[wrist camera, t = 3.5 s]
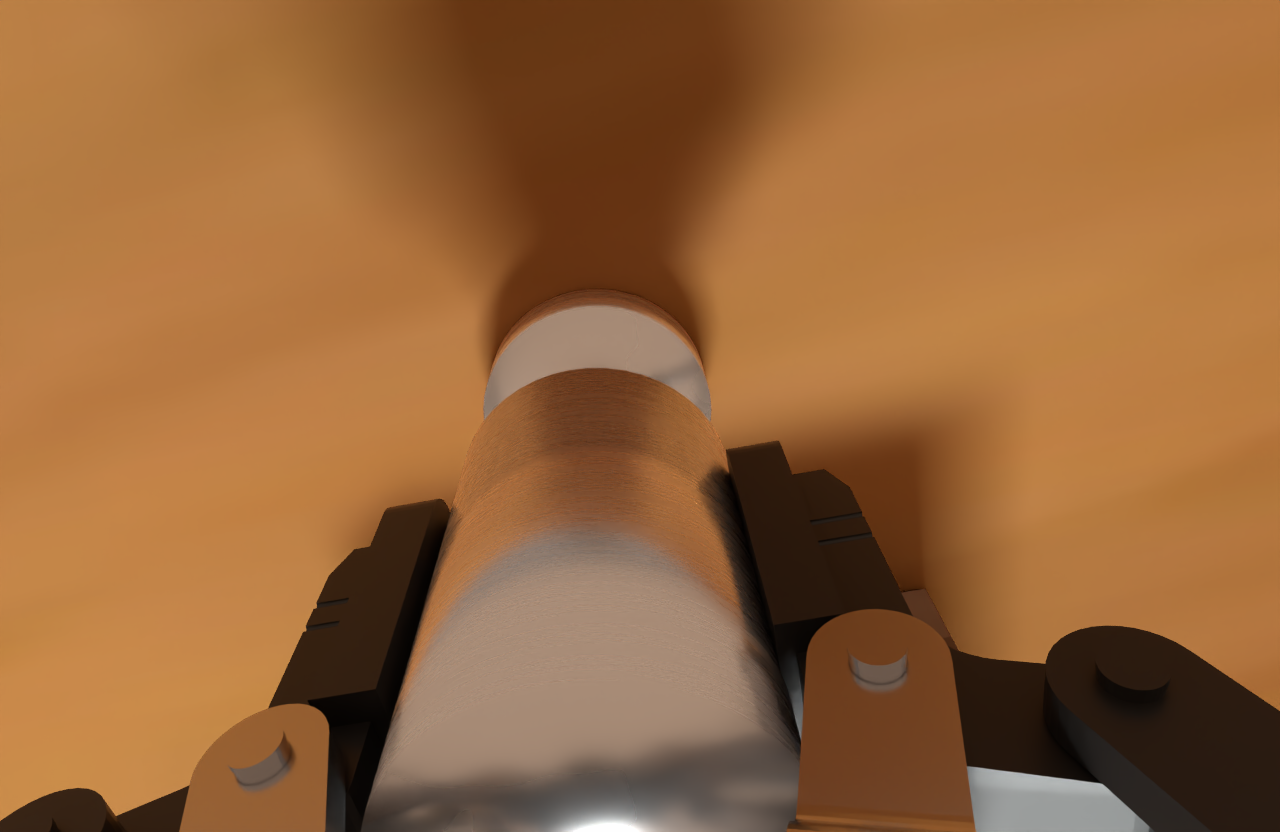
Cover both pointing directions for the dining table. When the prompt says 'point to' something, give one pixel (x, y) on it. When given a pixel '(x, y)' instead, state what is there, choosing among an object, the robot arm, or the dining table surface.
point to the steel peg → (592, 606)
